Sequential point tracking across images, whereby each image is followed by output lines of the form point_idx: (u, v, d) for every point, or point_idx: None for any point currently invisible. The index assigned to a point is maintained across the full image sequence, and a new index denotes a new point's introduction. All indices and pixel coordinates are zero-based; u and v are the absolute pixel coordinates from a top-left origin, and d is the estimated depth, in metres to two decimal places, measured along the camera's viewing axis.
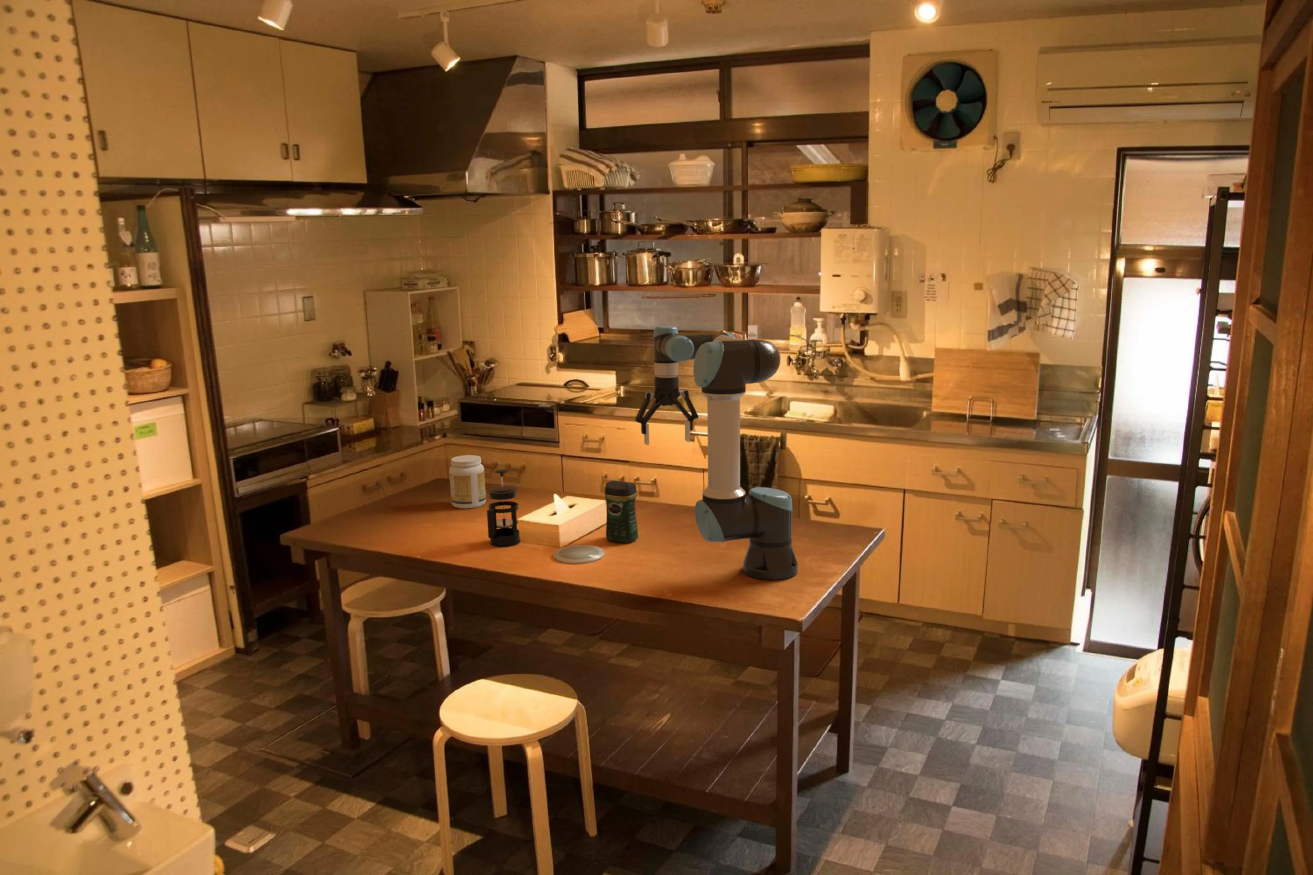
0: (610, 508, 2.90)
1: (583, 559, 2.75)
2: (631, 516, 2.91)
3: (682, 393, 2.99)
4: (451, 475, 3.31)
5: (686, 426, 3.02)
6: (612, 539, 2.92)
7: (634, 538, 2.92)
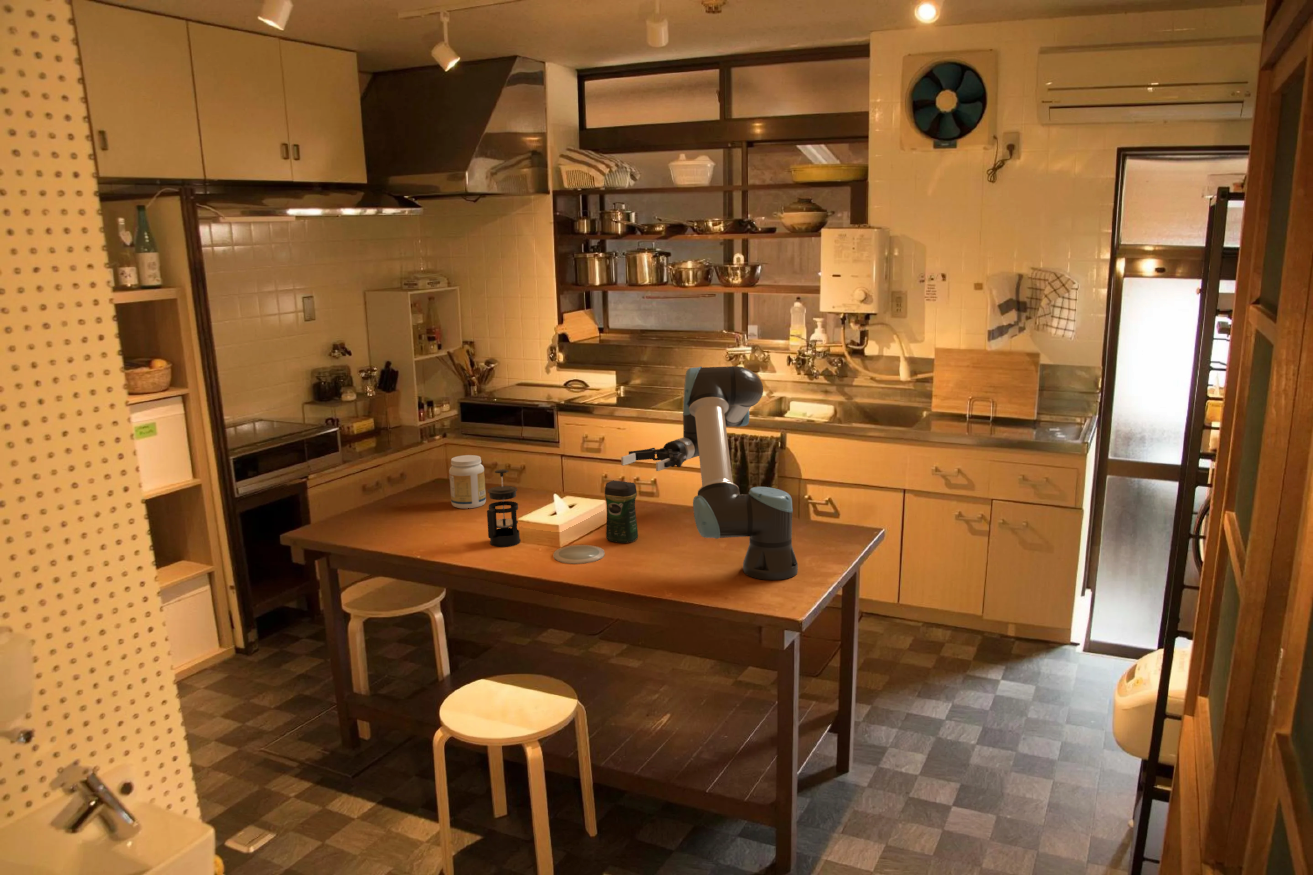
0: (610, 508, 2.90)
1: (583, 559, 2.75)
2: (631, 516, 2.91)
3: None
4: (451, 475, 3.31)
5: None
6: (612, 539, 2.92)
7: (634, 538, 2.92)
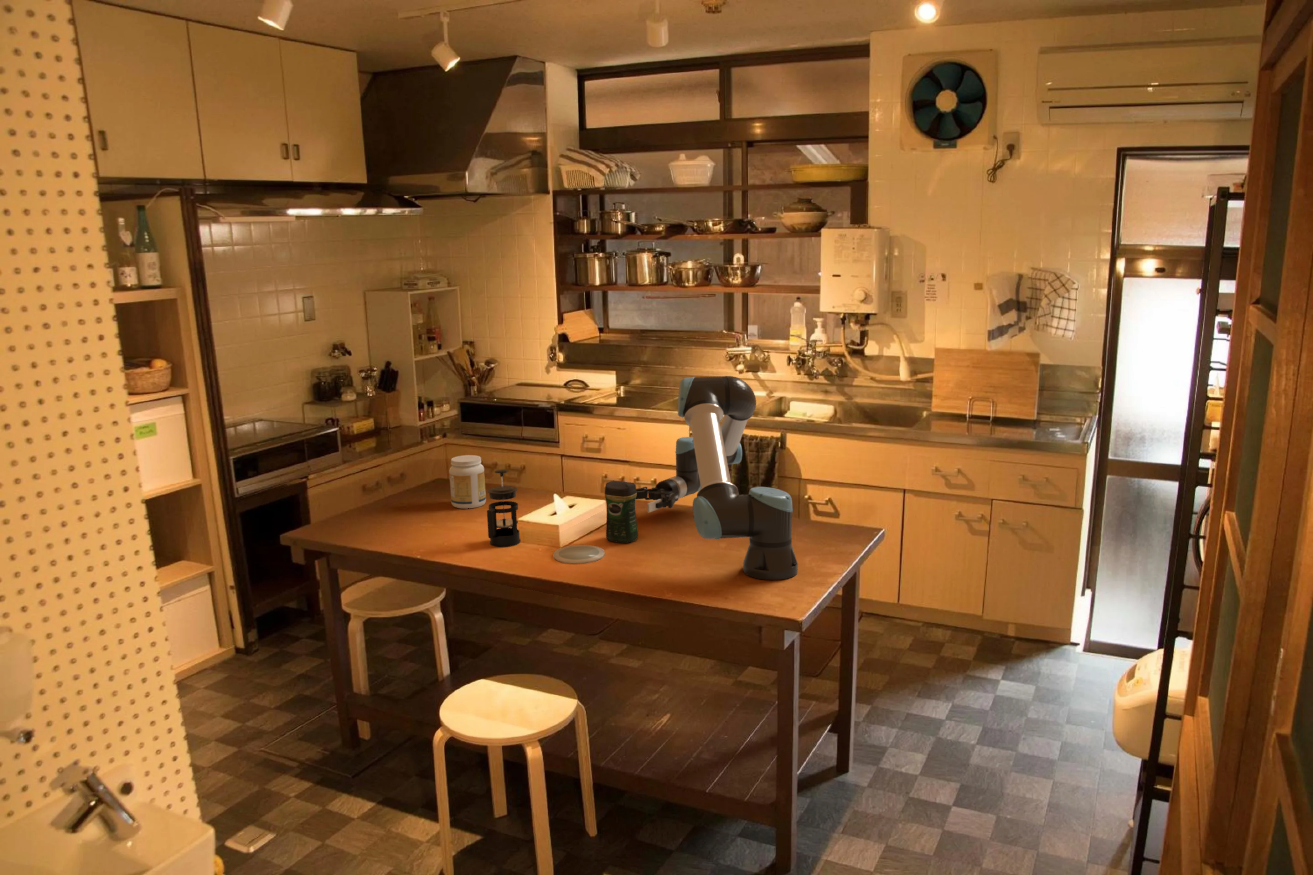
0: (610, 508, 2.90)
1: (583, 559, 2.75)
2: (631, 516, 2.91)
3: None
4: (451, 475, 3.31)
5: None
6: (612, 539, 2.92)
7: (634, 538, 2.92)
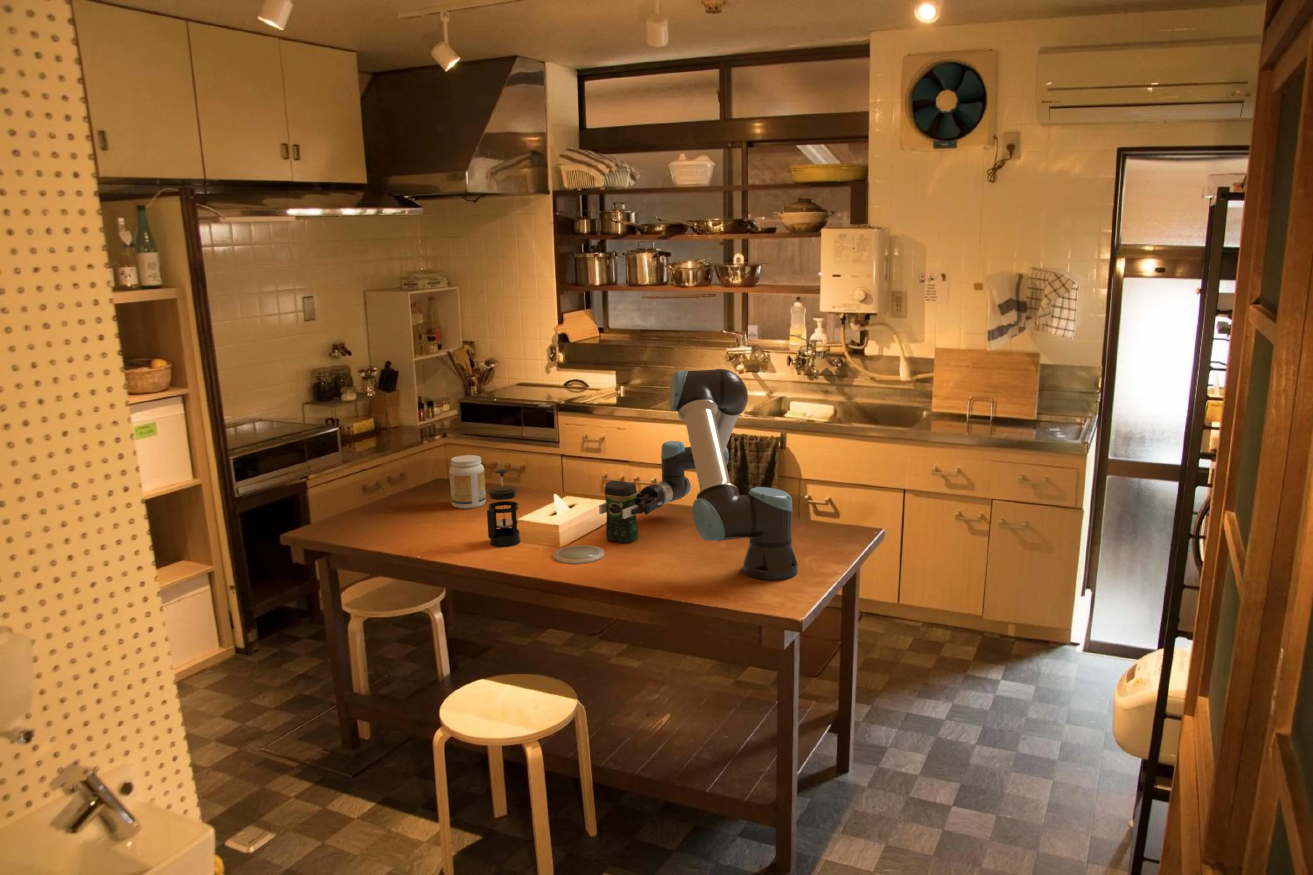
0: (610, 507, 2.90)
1: (583, 559, 2.75)
2: (631, 516, 2.91)
3: None
4: (451, 475, 3.31)
5: None
6: (612, 539, 2.92)
7: (634, 538, 2.92)
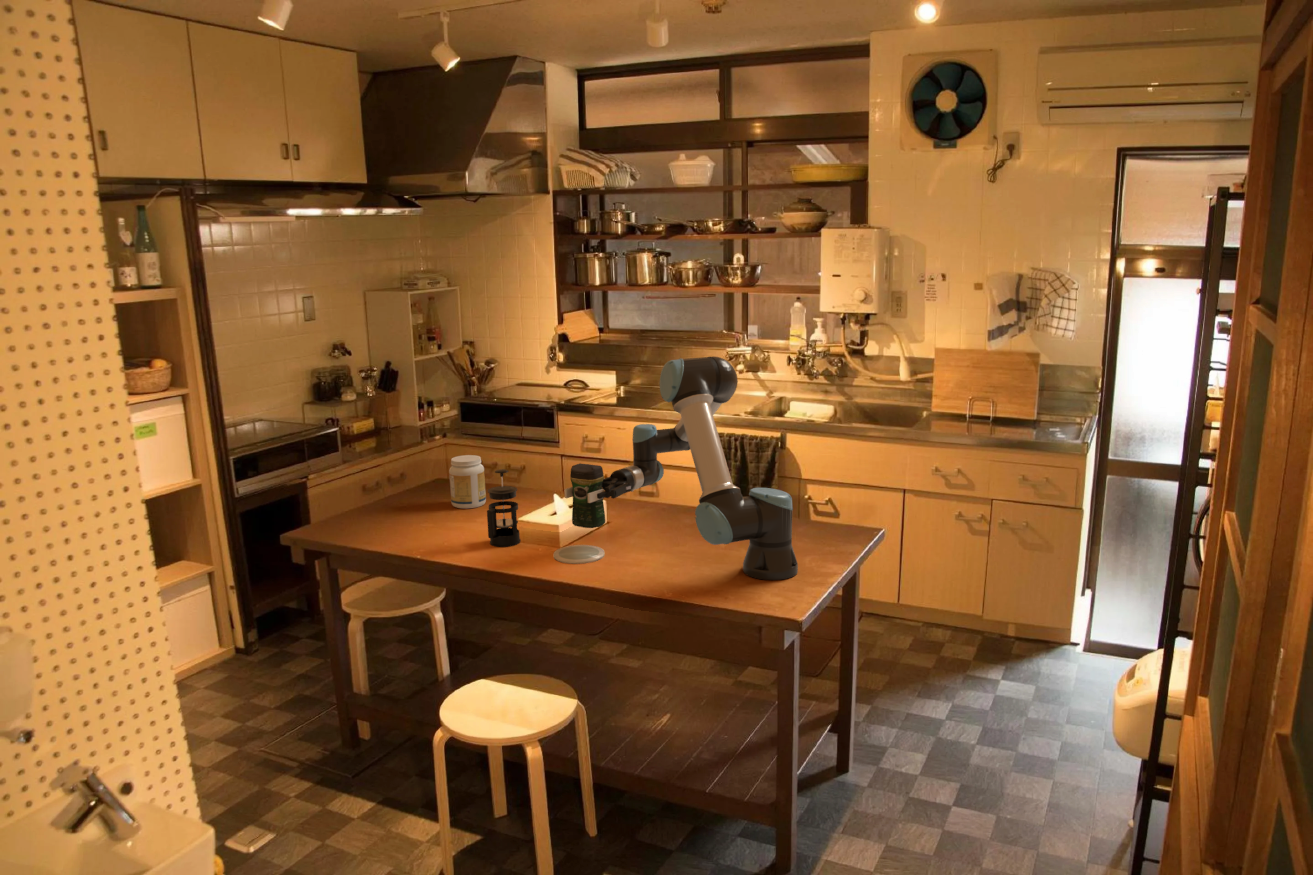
0: (576, 491, 2.80)
1: (583, 559, 2.75)
2: (598, 500, 2.80)
3: None
4: (451, 475, 3.31)
5: None
6: (578, 524, 2.81)
7: (601, 523, 2.81)
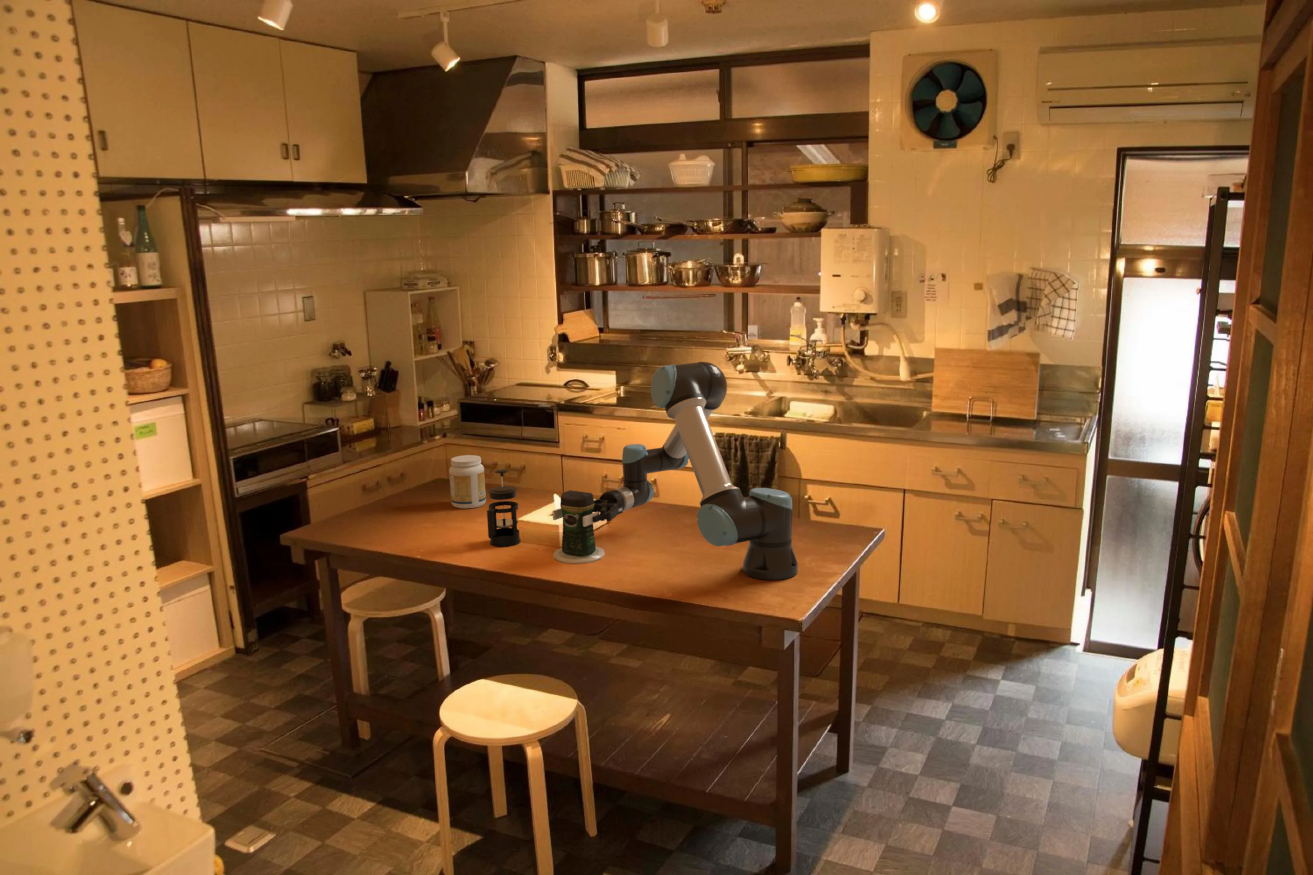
0: (566, 519, 2.76)
1: (583, 559, 2.75)
2: (588, 528, 2.76)
3: None
4: (451, 475, 3.31)
5: None
6: (568, 552, 2.78)
7: (591, 551, 2.78)
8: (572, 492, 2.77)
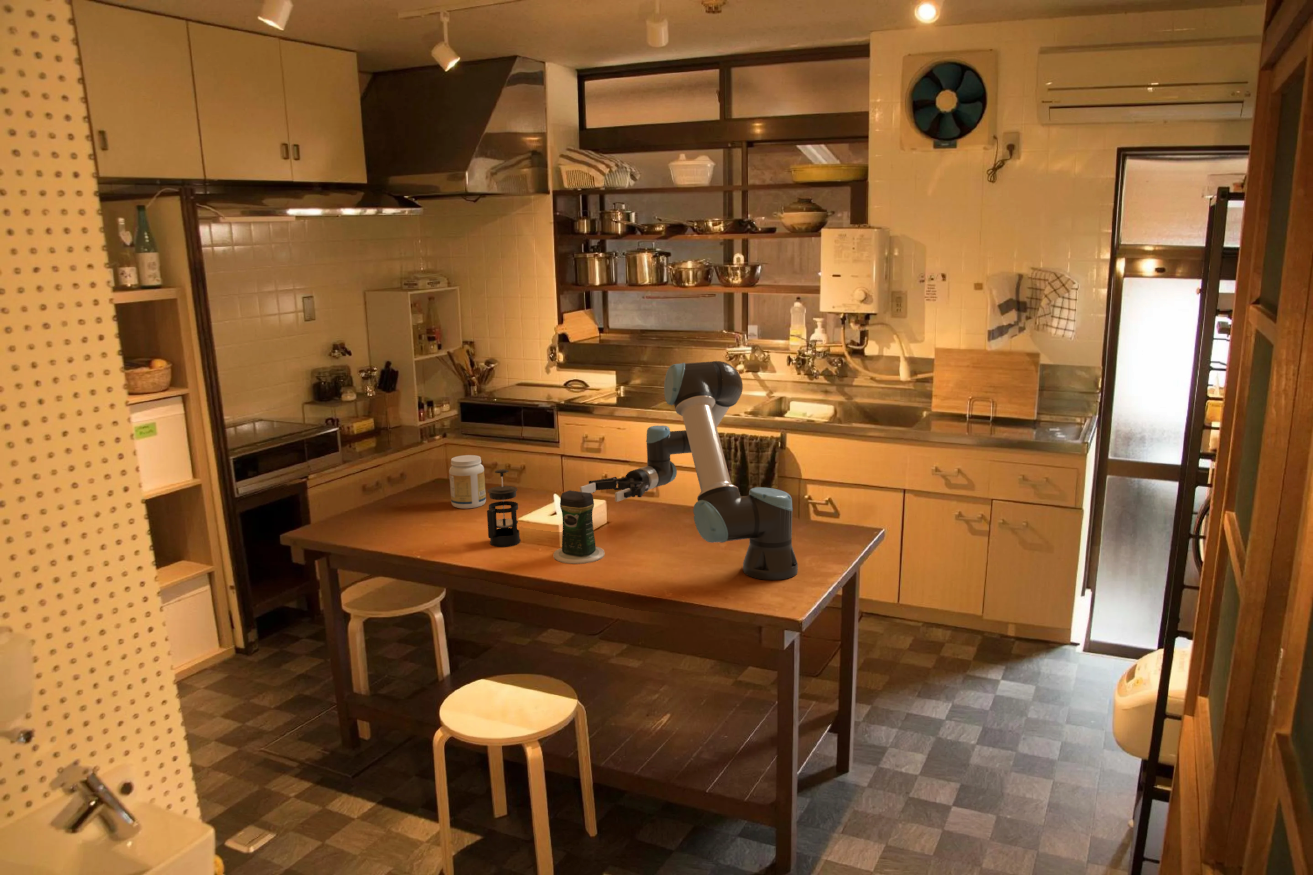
0: (566, 519, 2.76)
1: (583, 559, 2.75)
2: (588, 528, 2.76)
3: None
4: (451, 475, 3.31)
5: None
6: (568, 552, 2.78)
7: (591, 551, 2.78)
8: (572, 492, 2.77)
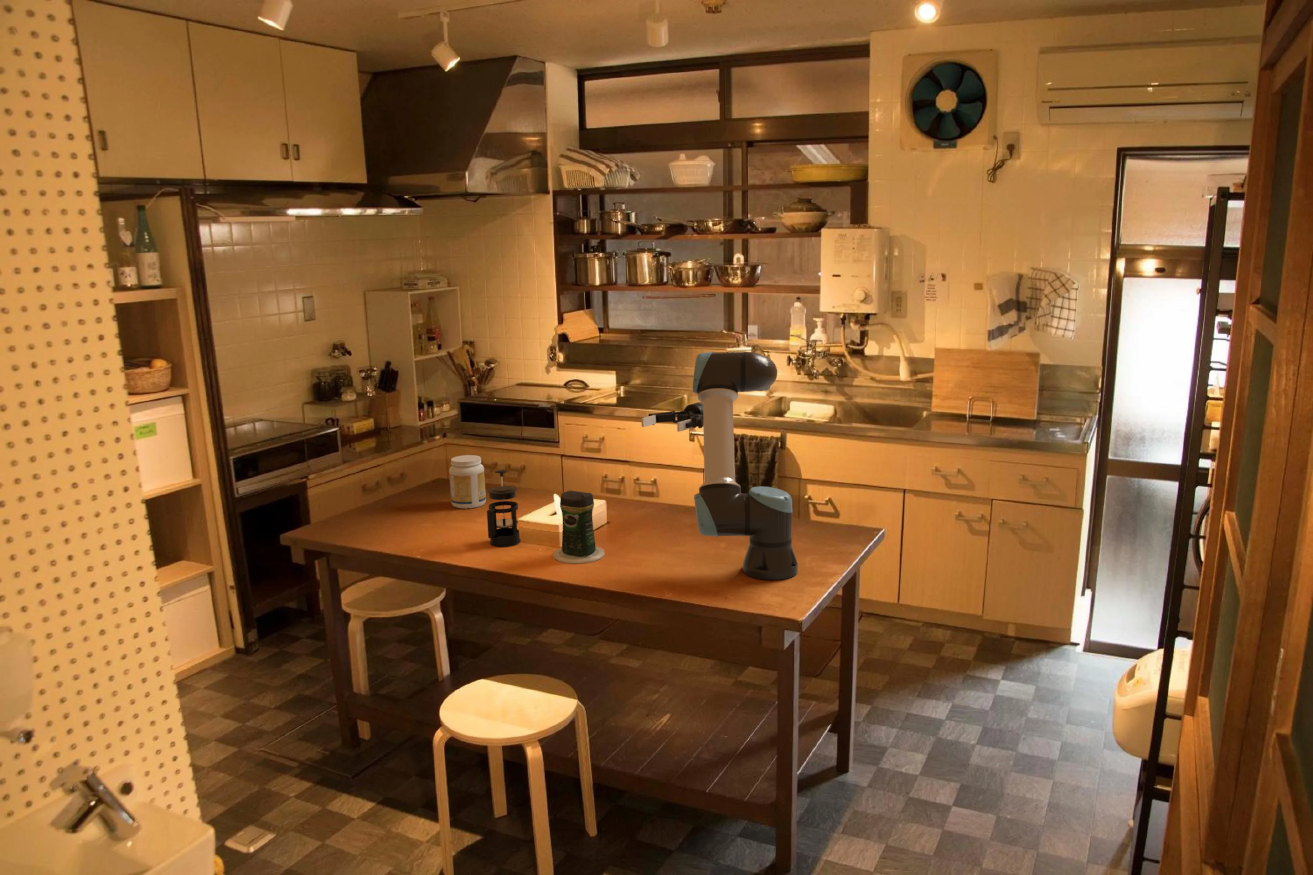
0: (566, 519, 2.76)
1: (583, 559, 2.75)
2: (588, 528, 2.76)
3: None
4: (451, 475, 3.31)
5: None
6: (568, 552, 2.78)
7: (591, 551, 2.78)
8: (572, 492, 2.77)
